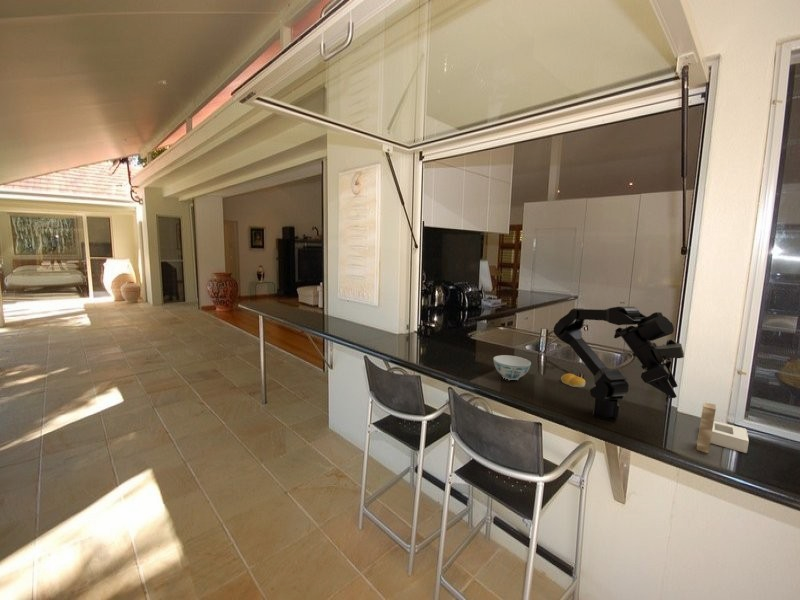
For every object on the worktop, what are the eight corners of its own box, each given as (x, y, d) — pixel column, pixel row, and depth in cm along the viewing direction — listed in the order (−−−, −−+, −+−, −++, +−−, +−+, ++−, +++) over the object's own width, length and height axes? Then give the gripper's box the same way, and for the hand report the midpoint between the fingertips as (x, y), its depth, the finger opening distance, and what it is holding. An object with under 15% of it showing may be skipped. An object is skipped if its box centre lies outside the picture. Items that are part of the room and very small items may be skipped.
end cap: (699, 439, 104) (701, 428, 103) (700, 428, 111) (701, 417, 111) (746, 453, 97) (748, 441, 97) (744, 440, 105) (746, 428, 104)
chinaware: (533, 377, 152) (534, 360, 151) (523, 387, 140) (525, 368, 139) (498, 369, 160) (500, 353, 159) (487, 378, 148) (488, 360, 147)
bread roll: (577, 389, 141) (578, 379, 140) (557, 382, 149) (558, 372, 148) (589, 386, 145) (591, 376, 145) (569, 379, 153) (570, 370, 152)
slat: (696, 449, 98) (703, 406, 96) (697, 443, 101) (703, 401, 100) (708, 453, 96) (715, 409, 95) (708, 447, 100) (715, 404, 98)
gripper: (667, 339, 94) (708, 392, 91) (670, 326, 109) (705, 371, 105) (625, 357, 101) (662, 407, 97) (633, 342, 115) (665, 385, 112)
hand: (675, 392), depth 103 cm, fingers open, 9 cm apart
